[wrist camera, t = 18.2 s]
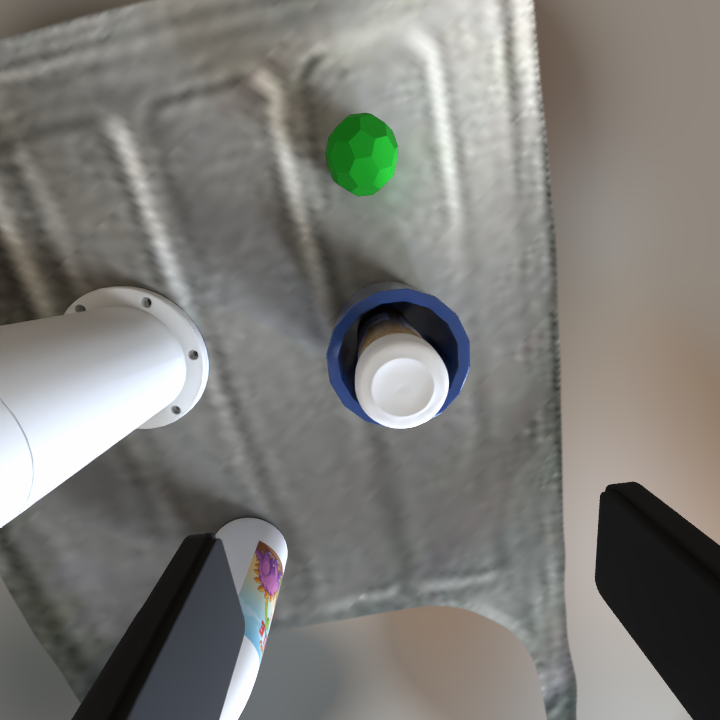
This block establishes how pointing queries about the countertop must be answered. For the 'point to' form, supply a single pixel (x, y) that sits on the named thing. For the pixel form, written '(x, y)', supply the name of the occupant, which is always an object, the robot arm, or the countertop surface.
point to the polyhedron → (362, 154)
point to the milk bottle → (252, 597)
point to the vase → (423, 315)
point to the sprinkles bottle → (397, 371)
